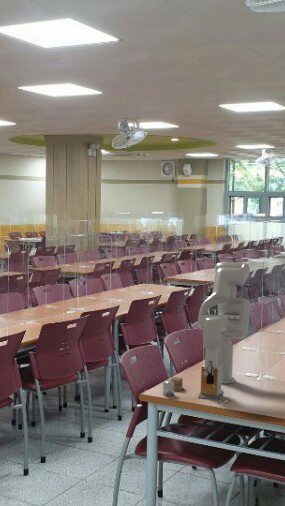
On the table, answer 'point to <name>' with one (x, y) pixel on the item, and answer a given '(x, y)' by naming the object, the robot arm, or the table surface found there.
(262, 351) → the table surface
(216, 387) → the small box
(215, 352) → the robot arm
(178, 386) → the walnut block
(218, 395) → the slate mat
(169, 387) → the grey metal cylinder
